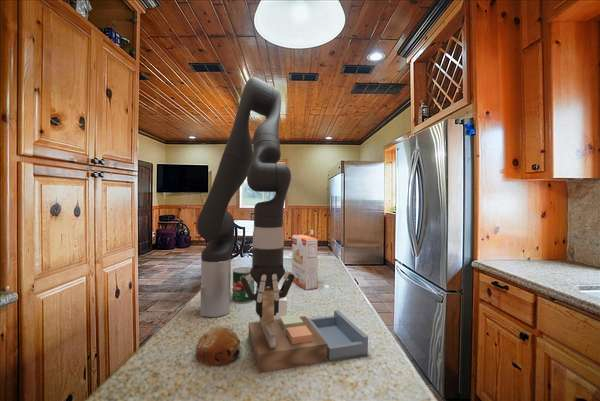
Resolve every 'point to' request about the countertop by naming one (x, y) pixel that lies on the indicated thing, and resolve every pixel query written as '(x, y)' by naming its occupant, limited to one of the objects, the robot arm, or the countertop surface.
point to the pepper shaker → (281, 307)
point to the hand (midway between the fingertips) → (266, 315)
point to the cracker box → (304, 261)
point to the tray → (341, 336)
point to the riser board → (285, 347)
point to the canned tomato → (241, 285)
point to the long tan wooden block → (268, 316)
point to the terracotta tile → (299, 334)
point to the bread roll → (218, 346)
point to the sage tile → (290, 321)
